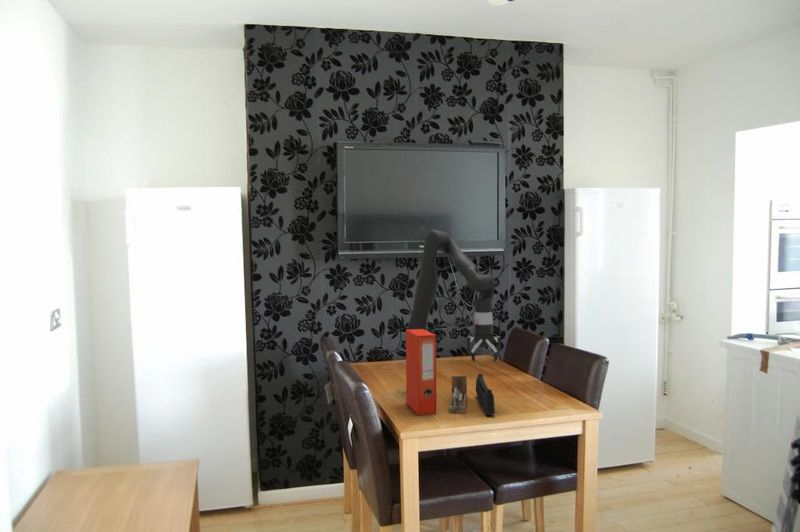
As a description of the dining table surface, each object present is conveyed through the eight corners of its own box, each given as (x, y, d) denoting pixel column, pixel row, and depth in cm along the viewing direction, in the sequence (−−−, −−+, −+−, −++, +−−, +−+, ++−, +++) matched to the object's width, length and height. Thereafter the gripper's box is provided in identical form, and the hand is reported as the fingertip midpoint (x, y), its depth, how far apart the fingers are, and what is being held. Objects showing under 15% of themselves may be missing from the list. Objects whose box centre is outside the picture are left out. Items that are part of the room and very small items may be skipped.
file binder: (424, 402, 246) (423, 328, 245) (437, 413, 229) (435, 334, 228) (406, 404, 244) (405, 329, 243) (417, 415, 227) (416, 336, 226)
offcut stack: (453, 410, 234) (452, 396, 233) (455, 401, 247) (454, 387, 247) (461, 410, 233) (461, 396, 233) (462, 401, 247) (462, 387, 247)
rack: (448, 413, 230) (448, 388, 229) (452, 398, 252) (451, 375, 251) (465, 413, 229) (464, 388, 228) (466, 398, 251) (466, 375, 250)
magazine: (495, 396, 220) (483, 359, 249) (487, 396, 220) (476, 359, 249) (494, 434, 226) (482, 393, 254) (485, 434, 226) (475, 393, 254)
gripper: (500, 321, 240) (501, 359, 241) (466, 321, 242) (467, 359, 243) (501, 323, 233) (502, 363, 233) (466, 324, 235) (467, 363, 235)
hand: (484, 361), depth 238 cm, fingers open, 8 cm apart
